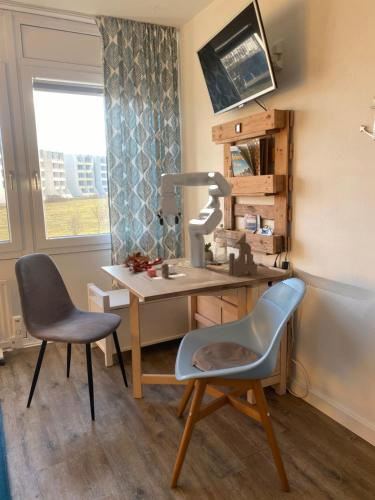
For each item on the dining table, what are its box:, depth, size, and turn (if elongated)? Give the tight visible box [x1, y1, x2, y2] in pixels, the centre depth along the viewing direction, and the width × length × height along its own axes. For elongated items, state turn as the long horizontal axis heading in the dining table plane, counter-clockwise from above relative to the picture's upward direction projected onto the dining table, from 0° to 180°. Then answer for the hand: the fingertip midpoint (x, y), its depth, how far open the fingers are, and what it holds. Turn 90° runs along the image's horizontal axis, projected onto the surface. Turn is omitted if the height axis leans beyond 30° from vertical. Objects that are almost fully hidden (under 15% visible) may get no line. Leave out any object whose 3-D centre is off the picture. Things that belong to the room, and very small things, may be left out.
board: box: [142, 267, 186, 282], centre depth 218 cm, size 23×14×5 cm, turn 117°
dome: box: [168, 264, 176, 274], centre depth 223 cm, size 5×5×5 cm
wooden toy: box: [228, 232, 258, 277], centre depth 221 cm, size 16×7×25 cm, turn 101°
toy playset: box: [122, 251, 165, 273], centre depth 242 cm, size 35×26×14 cm
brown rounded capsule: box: [161, 262, 170, 279], centre depth 214 cm, size 4×4×8 cm
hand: (169, 224), depth 223 cm, fingers open, 9 cm apart
